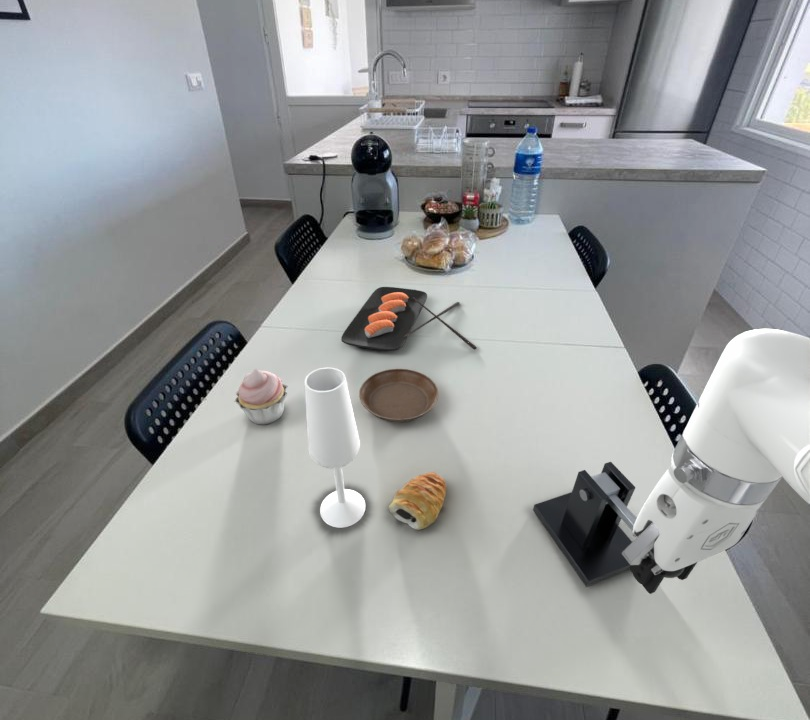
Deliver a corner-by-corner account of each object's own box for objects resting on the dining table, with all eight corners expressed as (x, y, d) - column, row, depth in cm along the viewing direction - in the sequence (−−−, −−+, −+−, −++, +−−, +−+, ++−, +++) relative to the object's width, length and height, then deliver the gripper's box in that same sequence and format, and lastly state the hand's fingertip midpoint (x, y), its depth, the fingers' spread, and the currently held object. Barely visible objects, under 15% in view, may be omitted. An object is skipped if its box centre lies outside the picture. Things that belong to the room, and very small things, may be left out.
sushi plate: (378, 291, 122) (377, 278, 120) (488, 305, 116) (489, 291, 114) (337, 348, 100) (335, 334, 98) (470, 369, 93) (472, 354, 91)
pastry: (419, 472, 71) (420, 456, 69) (457, 492, 68) (459, 475, 66) (385, 515, 65) (385, 498, 62) (425, 538, 62) (426, 522, 59)
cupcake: (297, 397, 86) (289, 355, 80) (284, 432, 79) (274, 387, 73) (250, 395, 87) (239, 353, 81) (232, 429, 79) (218, 385, 73)
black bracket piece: (643, 563, 58) (674, 507, 52) (585, 586, 56) (610, 531, 49) (583, 492, 68) (603, 437, 61) (532, 510, 65) (547, 454, 58)
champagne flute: (356, 532, 62) (341, 402, 48) (312, 521, 64) (285, 392, 50) (372, 494, 68) (362, 367, 54) (331, 484, 69) (311, 358, 55)
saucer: (445, 386, 89) (446, 375, 87) (426, 437, 77) (426, 426, 76) (376, 373, 92) (375, 362, 91) (347, 420, 81) (346, 409, 79)
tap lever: (685, 578, 48) (698, 559, 46) (659, 589, 48) (671, 571, 45) (603, 485, 59) (610, 467, 57) (580, 493, 58) (587, 474, 56)
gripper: (686, 527, 34) (620, 635, 45) (833, 469, 39) (742, 580, 49) (617, 457, 40) (573, 568, 51) (752, 413, 45) (686, 524, 55)
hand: (657, 573), depth 50 cm, fingers closed on tap lever, 3 cm apart
